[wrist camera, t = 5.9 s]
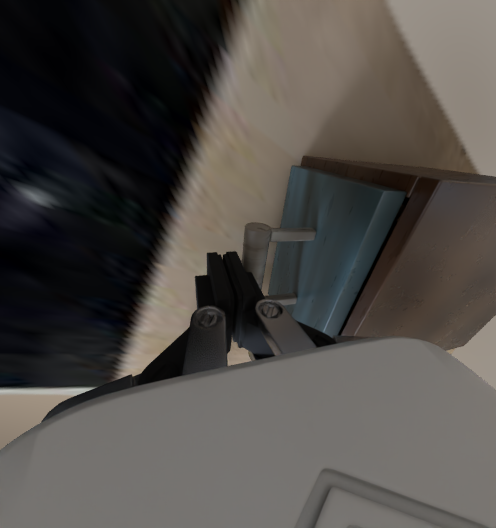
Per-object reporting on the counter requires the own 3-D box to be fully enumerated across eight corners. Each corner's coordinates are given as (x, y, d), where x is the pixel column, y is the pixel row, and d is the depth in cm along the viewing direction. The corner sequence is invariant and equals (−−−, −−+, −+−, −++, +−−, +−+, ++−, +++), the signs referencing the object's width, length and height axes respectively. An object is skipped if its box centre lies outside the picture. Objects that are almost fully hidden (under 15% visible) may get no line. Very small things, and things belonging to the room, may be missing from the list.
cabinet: (274, 291, 21) (328, 382, 13) (302, 155, 14) (442, 179, 7) (375, 280, 25) (463, 346, 17) (433, 168, 18) (621, 193, 10)
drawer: (225, 298, 18) (247, 383, 12) (231, 160, 13) (281, 185, 6) (368, 282, 23) (438, 337, 17) (421, 175, 17) (561, 199, 11)
